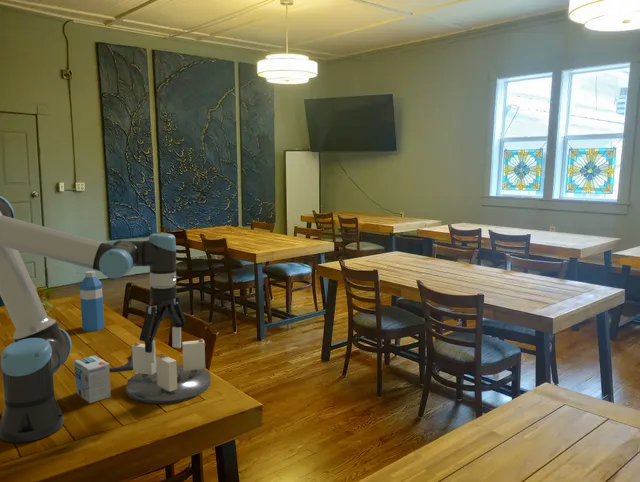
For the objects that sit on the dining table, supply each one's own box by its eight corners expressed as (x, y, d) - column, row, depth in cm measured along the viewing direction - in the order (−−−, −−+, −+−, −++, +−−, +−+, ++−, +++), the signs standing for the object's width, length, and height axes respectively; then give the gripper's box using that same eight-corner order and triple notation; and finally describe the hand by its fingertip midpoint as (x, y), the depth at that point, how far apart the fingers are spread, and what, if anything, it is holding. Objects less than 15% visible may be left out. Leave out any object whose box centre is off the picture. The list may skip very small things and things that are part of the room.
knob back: (156, 375, 170) (155, 342, 168) (151, 378, 167) (150, 345, 166) (138, 372, 172) (136, 340, 170) (133, 375, 169) (131, 343, 168)
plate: (171, 411, 150) (170, 398, 149) (108, 393, 162) (107, 380, 161) (226, 378, 173) (226, 367, 172) (167, 365, 185) (167, 354, 184)
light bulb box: (75, 393, 162) (72, 360, 160) (96, 386, 167) (94, 354, 165) (90, 404, 155) (87, 369, 153) (112, 396, 159) (110, 363, 158)
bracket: (153, 355, 196) (153, 348, 196) (153, 369, 182) (152, 362, 182) (113, 359, 192) (112, 351, 192) (109, 374, 178) (108, 366, 178)
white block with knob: (177, 392, 157) (176, 357, 155) (169, 395, 155) (168, 359, 153) (165, 386, 162) (163, 351, 160) (157, 388, 160) (156, 354, 158)
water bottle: (99, 331, 222) (96, 274, 218) (77, 331, 222) (74, 274, 218) (108, 324, 231) (105, 269, 227) (87, 324, 231) (84, 269, 227)
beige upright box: (183, 374, 171) (182, 341, 169) (183, 371, 173) (182, 339, 172) (205, 371, 173) (204, 339, 171) (204, 368, 175) (203, 337, 174)
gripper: (148, 296, 141) (149, 371, 144) (196, 278, 164) (196, 343, 167) (125, 293, 143) (127, 367, 146) (175, 276, 167) (176, 340, 170)
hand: (164, 354), depth 157 cm, fingers open, 13 cm apart
